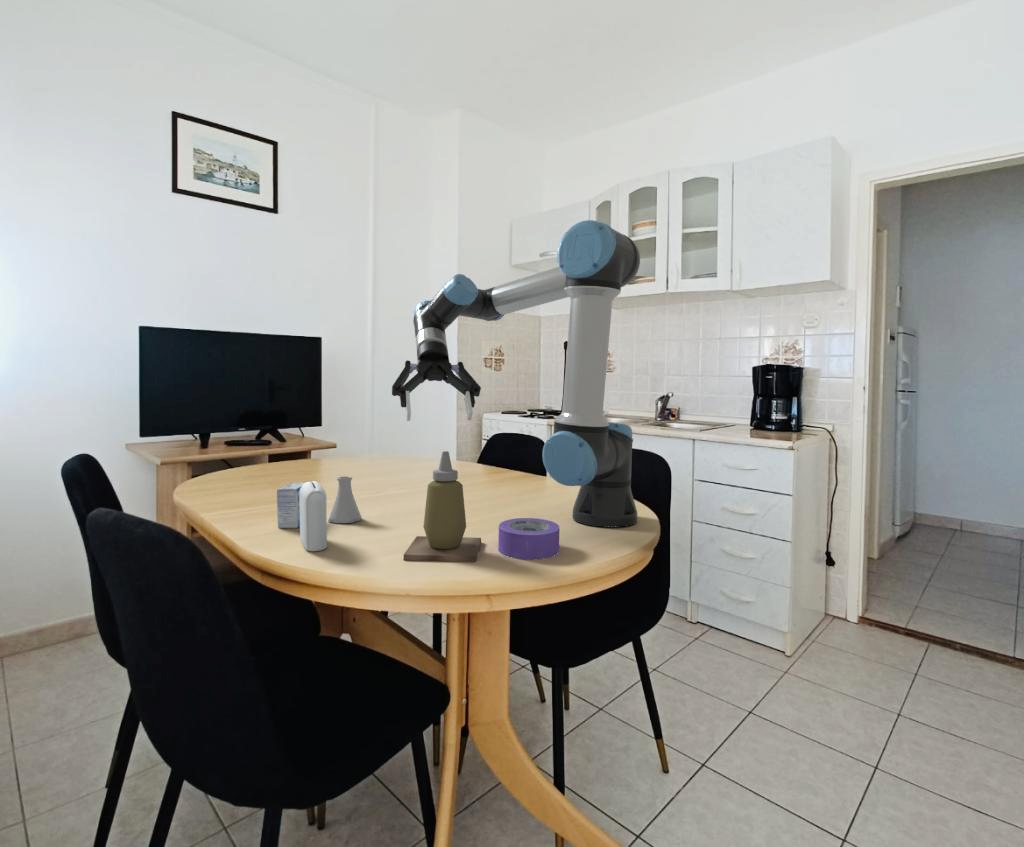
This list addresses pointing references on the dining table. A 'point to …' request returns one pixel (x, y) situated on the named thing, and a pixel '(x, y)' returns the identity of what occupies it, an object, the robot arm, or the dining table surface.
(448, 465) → the squeeze bottle
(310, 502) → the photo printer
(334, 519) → the flask
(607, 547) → the dining table surface
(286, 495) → the medicine box
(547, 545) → the tape roll
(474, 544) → the plate
